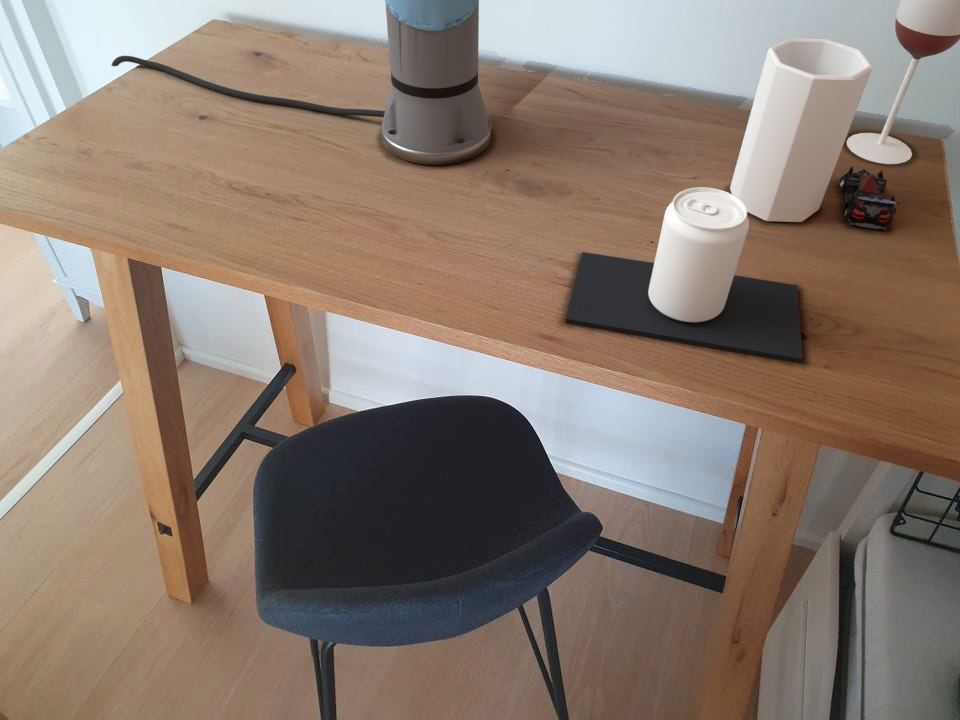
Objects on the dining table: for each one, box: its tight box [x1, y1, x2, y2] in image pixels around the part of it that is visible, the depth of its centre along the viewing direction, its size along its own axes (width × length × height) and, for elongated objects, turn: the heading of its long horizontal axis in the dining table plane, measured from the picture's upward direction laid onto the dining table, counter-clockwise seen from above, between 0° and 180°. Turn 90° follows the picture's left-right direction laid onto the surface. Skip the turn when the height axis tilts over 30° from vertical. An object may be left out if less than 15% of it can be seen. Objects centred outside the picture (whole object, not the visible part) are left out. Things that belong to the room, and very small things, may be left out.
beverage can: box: [648, 186, 750, 322], centre depth 78 cm, size 8×8×12 cm
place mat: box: [564, 251, 804, 364], centre depth 83 cm, size 24×12×1 cm, turn 76°
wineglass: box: [846, 0, 960, 165], centre depth 99 cm, size 9×10×23 cm
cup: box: [729, 37, 873, 223], centre depth 91 cm, size 11×11×18 cm
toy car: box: [839, 165, 902, 231], centre depth 96 cm, size 6×12×4 cm, turn 166°
